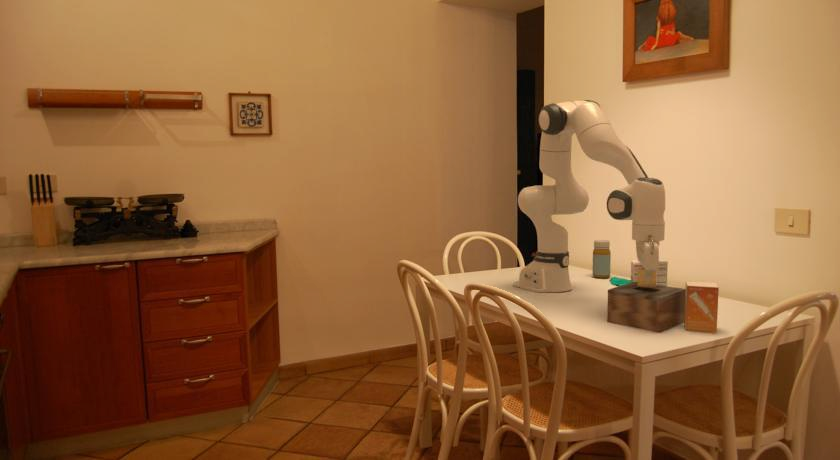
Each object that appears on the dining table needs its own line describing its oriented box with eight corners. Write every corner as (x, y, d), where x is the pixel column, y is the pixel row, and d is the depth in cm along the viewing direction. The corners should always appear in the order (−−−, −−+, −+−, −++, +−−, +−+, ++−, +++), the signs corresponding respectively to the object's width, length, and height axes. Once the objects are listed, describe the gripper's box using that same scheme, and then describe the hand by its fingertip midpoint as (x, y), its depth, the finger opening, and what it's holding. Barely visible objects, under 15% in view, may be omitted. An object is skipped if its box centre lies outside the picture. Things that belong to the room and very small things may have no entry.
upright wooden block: (637, 286, 171) (637, 269, 170) (638, 284, 173) (638, 268, 173) (655, 287, 169) (656, 270, 168) (656, 285, 171) (656, 269, 171)
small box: (685, 330, 163) (686, 285, 162) (683, 325, 169) (685, 280, 168) (717, 333, 160) (719, 287, 159) (714, 327, 166) (716, 282, 165)
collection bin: (607, 322, 173) (607, 289, 172) (633, 312, 184) (634, 281, 182) (659, 333, 161) (660, 298, 160) (685, 322, 172) (686, 289, 171)
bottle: (593, 278, 239) (594, 242, 237) (591, 275, 246) (592, 239, 244) (611, 278, 238) (612, 242, 236) (608, 275, 244) (609, 239, 243)
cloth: (647, 294, 211) (647, 288, 211) (607, 292, 215) (607, 286, 215) (641, 280, 236) (641, 274, 236) (606, 279, 240) (606, 273, 240)
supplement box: (638, 291, 213) (639, 257, 211) (659, 291, 212) (660, 257, 211) (646, 296, 205) (646, 261, 204) (667, 296, 205) (668, 260, 204)
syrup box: (651, 306, 191) (652, 262, 189) (632, 306, 192) (633, 262, 191) (648, 302, 197) (649, 260, 195) (629, 301, 198) (630, 259, 196)
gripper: (665, 238, 159) (663, 288, 160) (654, 229, 178) (653, 274, 180) (640, 238, 160) (639, 287, 162) (632, 229, 180) (632, 273, 181)
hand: (646, 280), depth 171 cm, fingers closed on upright wooden block, 3 cm apart
